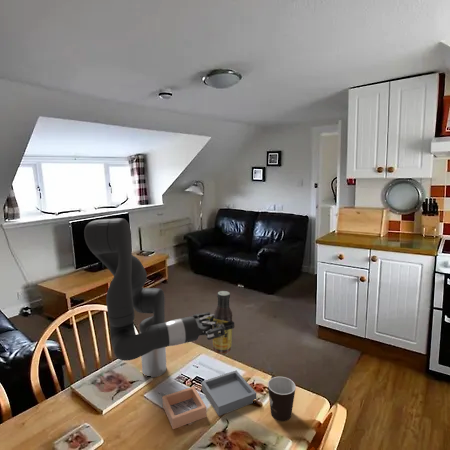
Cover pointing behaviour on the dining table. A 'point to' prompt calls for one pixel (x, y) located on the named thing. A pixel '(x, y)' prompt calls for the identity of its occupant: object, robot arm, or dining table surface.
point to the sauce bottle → (222, 316)
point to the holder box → (188, 415)
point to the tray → (228, 392)
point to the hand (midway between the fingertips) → (229, 320)
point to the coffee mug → (281, 397)
